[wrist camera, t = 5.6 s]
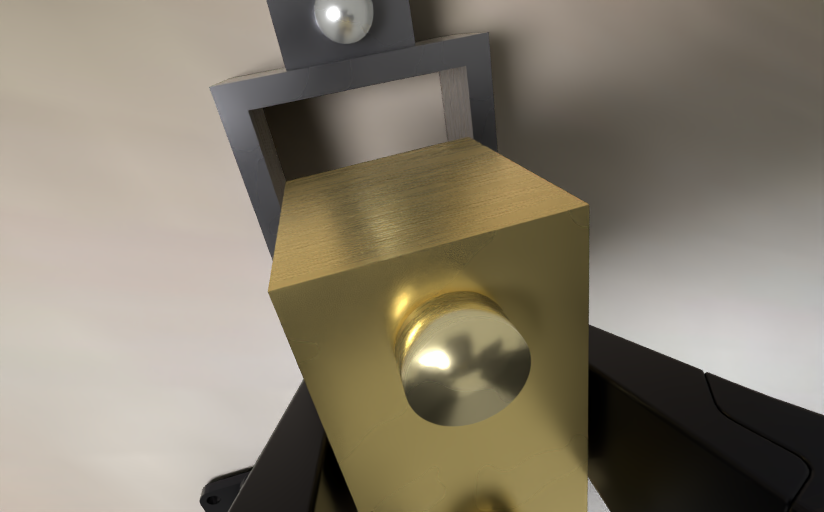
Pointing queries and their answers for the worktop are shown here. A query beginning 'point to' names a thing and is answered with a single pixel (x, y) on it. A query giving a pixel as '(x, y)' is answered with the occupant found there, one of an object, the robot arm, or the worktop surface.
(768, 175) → the worktop surface
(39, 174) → the worktop surface
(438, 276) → the gold block with knobs
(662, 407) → the robot arm
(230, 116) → the open rectangular frame
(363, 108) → the worktop surface
